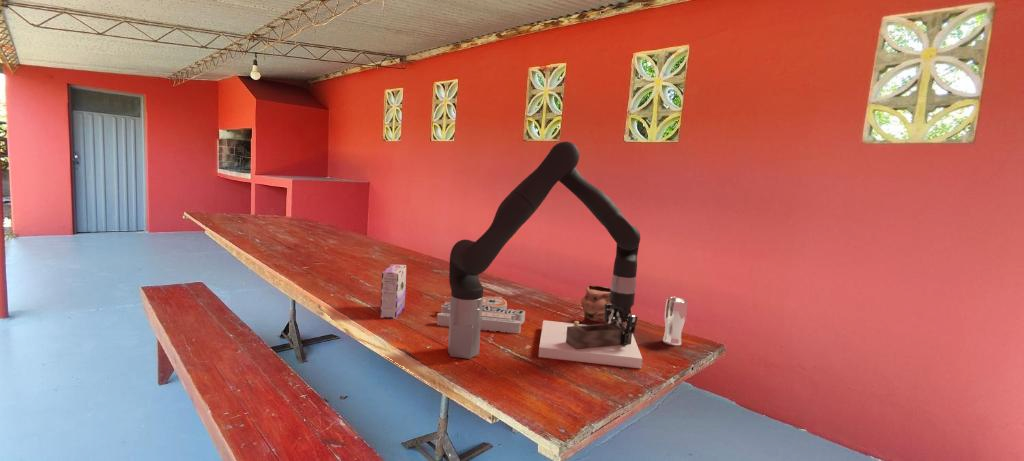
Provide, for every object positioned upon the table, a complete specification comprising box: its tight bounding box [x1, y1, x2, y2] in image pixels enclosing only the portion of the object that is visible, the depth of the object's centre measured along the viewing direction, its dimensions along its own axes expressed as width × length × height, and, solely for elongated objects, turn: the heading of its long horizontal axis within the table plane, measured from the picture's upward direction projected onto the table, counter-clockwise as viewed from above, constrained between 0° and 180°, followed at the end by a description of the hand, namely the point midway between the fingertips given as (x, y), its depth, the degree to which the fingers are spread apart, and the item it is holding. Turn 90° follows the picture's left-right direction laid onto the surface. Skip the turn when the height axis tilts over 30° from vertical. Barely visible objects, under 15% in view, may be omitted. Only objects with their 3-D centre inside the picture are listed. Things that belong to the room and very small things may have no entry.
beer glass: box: [662, 296, 688, 347], centre depth 166 cm, size 7×7×15 cm
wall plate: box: [538, 320, 643, 369], centre depth 157 cm, size 26×30×6 cm
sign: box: [436, 296, 526, 335], centre depth 181 cm, size 30×4×30 cm
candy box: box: [379, 263, 407, 320], centre depth 176 cm, size 14×6×16 cm, turn 0°
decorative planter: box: [580, 285, 611, 325], centre depth 180 cm, size 20×12×14 cm, turn 148°
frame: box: [566, 322, 632, 350], centre depth 153 cm, size 20×6×5 cm, turn 114°
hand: (617, 341), depth 156 cm, fingers closed on frame, 6 cm apart
